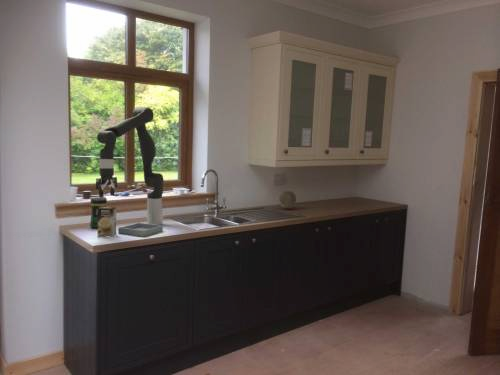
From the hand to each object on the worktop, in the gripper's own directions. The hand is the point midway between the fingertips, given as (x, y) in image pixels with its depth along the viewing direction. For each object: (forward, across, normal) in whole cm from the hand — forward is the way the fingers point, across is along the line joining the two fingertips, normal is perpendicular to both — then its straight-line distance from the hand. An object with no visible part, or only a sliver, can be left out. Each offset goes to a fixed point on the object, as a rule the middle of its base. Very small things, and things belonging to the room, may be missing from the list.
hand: (106, 196), depth 240 cm
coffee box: (+22, 0, 0) cm, 23 cm away
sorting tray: (+22, -16, +11) cm, 30 cm away
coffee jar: (+22, -15, -20) cm, 34 cm away
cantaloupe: (+22, -152, +55) cm, 163 cm away
